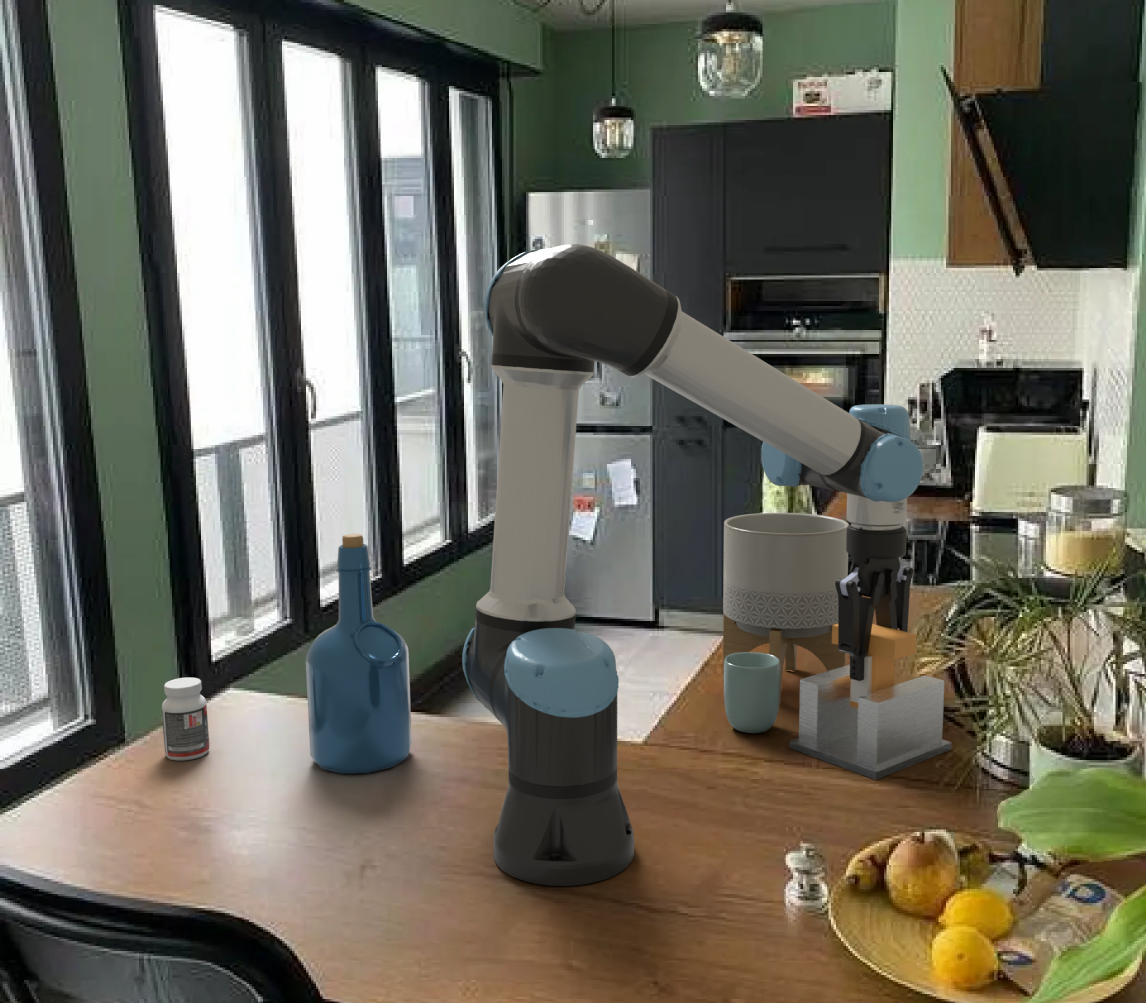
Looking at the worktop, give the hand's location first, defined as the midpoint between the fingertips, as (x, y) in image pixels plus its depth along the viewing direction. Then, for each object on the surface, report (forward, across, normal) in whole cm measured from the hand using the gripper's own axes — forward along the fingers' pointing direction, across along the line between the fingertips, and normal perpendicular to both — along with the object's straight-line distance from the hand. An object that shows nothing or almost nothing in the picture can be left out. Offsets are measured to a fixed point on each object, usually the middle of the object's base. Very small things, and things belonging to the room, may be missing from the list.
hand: (871, 698), depth 150 cm
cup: (+7, -6, +16) cm, 18 cm away
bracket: (+7, 0, 0) cm, 7 cm away
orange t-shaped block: (+1, 0, 0) cm, 1 cm away
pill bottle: (+7, -71, +57) cm, 92 cm away
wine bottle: (+7, -54, +41) cm, 68 cm away
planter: (+7, +12, +25) cm, 29 cm away
